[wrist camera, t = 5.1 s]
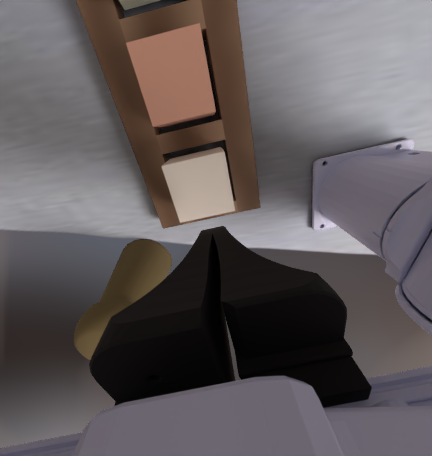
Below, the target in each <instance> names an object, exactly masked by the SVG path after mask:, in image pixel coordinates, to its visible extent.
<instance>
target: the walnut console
mask: <svg viewBox="0 0 432 456" xmlns="http://www.w3.org/2000/svg"><path fill="white" fill-rule="evenodd" d="M76 2H77V5H78V8H79V10H80V13H81V16H82V18H83V21H84V23H85V26H86V29H87V31H88V34H89V36H90V39H91V42H92V44H93V47H94V49H95V52H96V55H97V57H98V60H99V63H100V65H101V68H102V70H103V73H104V76H105V78H106V81H107V83H108V86H109V89H110V91H111V94H112V96H113V99H114V102H115V104H116V107H117V110H118V112H119V115H120V117H121V120H122V123H123V125H124V128H125V130H126V133H127V136H128V138H129V141H130V143H131V146H132V149H133V151H134V154H135V157H136V159H137V162H138V164H139V167H140V170H141V172H142V175H143V177H144V180H145V183H146V185H147V188H148V190H149V193H150V196H151V198H152V201H153V204H154V206H155V209H156V211H157V214H158V217H159V219H160V222H161V224H162V227H163V228H168V227H173V226H177V225H182V224H186V223H191V222H196V221H200V220H205V219H210V218H214V217H219V216H223V215H228V214H233V213H237V212H242V211H247V210H251V209H256V208H260V199H259V191H258V182H257V173H256V164H255V156H254V147H253V138H252V130H251V121H250V112H249V104H248V95H247V86H246V78H245V69H244V60H243V52H242V43H241V34H240V26H239V17H238V8H237V0H188V1H184V2H180V3H177V4H173V5H170V6H166V7H162V8H159V9H155V10H152V11H148V12H144V13H141V14H137V15H134V16H130V17H126V18H125V17H124V14H123V11H122V7H121V4H120V2H119V0H76ZM198 23H200V27H201V33H202V38H203V41H205V40H206V43H207V49H208V55H209V60H210V66H211V72H212V77H213V83H214V88H215V94H216V100H217V105H218V111H219V116H220V120H217V121H213V122H209V123H205V124H201V125H197V126H193V127H189V128H184V129H180V130H176V131H172V132H168V133H164V134H161V133H160V130H159V127H153V126H152V123H151V120H150V116H149V113H148V110H147V107H146V104H145V101H144V98H143V95H142V92H141V89H140V85H139V82H138V79H137V76H136V73H135V70H134V67H133V64H132V61H131V57H130V54H129V51H128V48H127V45H126V43H127V42H131V41H135V40H139V39H142V38H146V37H150V36H153V35H157V34H161V33H164V32H168V31H172V30H176V29H179V28H183V27H187V26H190V25H194V24H198ZM221 140H224V145H225V150H226V156H227V161H228V167H229V173H230V178H231V184H232V190H233V195H232V196H233V201H234V207H235V211H233V212H228V213H223V214H219V215H214V216H210V217H205V218H200V219H196V220H191V221H187V222H182V223H180V221H179V218H178V215H177V212H176V209H175V206H174V203H173V200H172V197H171V194H170V191H169V188H168V185H167V182H166V179H165V176H164V173H163V170H162V167H161V166H162V165H163V164H164V163H166V162H167V161H168V160H169V159H168V156H167V153H170V152H175V151H179V150H183V149H187V148H192V147H196V146H200V145H204V144H208V143H213V142H217V141H221Z"/></svg>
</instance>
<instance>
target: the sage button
mask: <svg viewBox="0 0 432 456" xmlns="http://www.w3.org/2000/svg"><path fill="white" fill-rule="evenodd" d="M157 1H161V0H119V2H120V3H121V5H122V6H123V8H124V9H125V10H128V9H132V8H136V7H139V6H143V5H146V4H150V3H153V2H157Z"/></svg>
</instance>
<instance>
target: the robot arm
mask: <svg viewBox="0 0 432 456" xmlns="http://www.w3.org/2000/svg"><path fill="white" fill-rule="evenodd" d="M397 145H398V147H397V148H396V146H397ZM413 147H414V140H413V139H405V140H400V141H396V142H392V143H387V144H383V145H378V146H374V147H369V148H365V149H361V150H356V151H352V152H347V153H343V154H338V155H334V156H329V157H325V158H321V159H317V160H316V161H314V163H313V195H312V228H313V229H314V230H315V231H318V230H323V229H328V228H333V227H338V226H339V227H340V228H341V229H343V230H344V231H345V232H347V233H348V234H350V235H351V236H352V237H354V238H355V239H356V240H358V241H359V242H361V243H362V244H363V245H365V246H366V247H367V248H369V249H370V250H372V251H373V252H374V253H376V254H377V255H379V256H380V257H382V258H383V259H384V260H386V261H387V267H386V270H385V272H386V273H388V274H389V275H390V276H391V277H393V278H394V279H395V280H396V281H398V282H399V284H398V285H397V288H396V292H395V294H396V298H397V300H398V302H399V304H400V306H401V307H402V308H403V310H404V311H405V312H406V313H407V314H408V315H409V316H410V317H411V318H412V319H413V320H414V321H415V322H416V323H417V324H419V326H420V327H422V328H423V329H424V330H425V331H427V332H428V333H429V334H431V335H432V152H427V151H417V150H413ZM324 161H325V162H326V163H325V165H322V163H323V162H324ZM321 224H323V225H322V226H321V227H320V225H321ZM225 317H226V319H225ZM346 319H347V309H346V306H345V304H344V302H343V301H342V300H341V298H340V297H339V296H338V295H337V293H336V292H335V291H334V290H333V289H332V288H331V287H330V286H329V285H328V283H326V282H325V281H324V280H323V279H322V278H321V277H320V276H319V275H318V274H317V273H313V272H309V271H304V270H300V269H295V268H291V267H288V266H285V265H281V264H279V263H276V262H273V261H271V260H268V259H266V258H264V257H262V256H260V255H258V254H256V253H254V252H252V251H251V250H249V249H248V248H246V247H245V246H244V245H242V244H241V243H240V242H239V241H238V240H236V239H235V238H234V237H233V236H232V235H231V234H230V233H229V232H228V230H227V229H226V227H224V226H221V227H216V228H212V229H207V230H203V231H201V233H200V234H199V236H198V238H197V240H196V241H195V243H194V245H193V246H192V248H191V249H190V251H189V252H188V254H187V255H186V257H185V258H184V259H183V261H182V262H181V263H180V264H179V265H178V266H177V267H176V268H175V270H174V271H173V272H172V273H171V274H170V275H168V276H167V277H166V278H165V279H164V280H163V281H162V282H161V283H160V284H158V285H157V286H156V287H155V288H153V289H152V290H151V291H150V292H148V293H147V294H146V295H144V296H143V297H141V298H140V299H139V300H137V301H136V302H134V303H133V304H131V305H129V306H128V307H126V308H125V309H123V310H122V311H120V312H118V313H117V314H115V315H113V316H112V317H111V318H110V320H109V322H108V324H107V326H106V328H105V330H104V332H103V334H102V336H101V338H100V341H99V343H98V345H97V347H96V349H95V351H94V353H93V355H92V357H91V360H90V364H89V365H90V371H91V374H92V376H93V377H94V378H95V380H96V381H97V382H98V383H99V385H100V386H102V388H103V389H104V390H105V391H106V392H107V393H108V394H109V395H110V396H111V397H112V398H113V399H114V400H115V401H116V402H115V406H113V407H111V408H108V409H105V410H102V411H100V412H99V413H98V414H96V415H95V416H94V417H93V418H92V419H91V420H90V422H89V423H88V425H87V426H86V427H85V428H84V430H83V432H82V433H77V434H71V435H66V436H61V437H55V438H51V439H45V440H40V441H35V442H29V443H24V444H19V445H13V446H9V447H4V448H0V456H432V366H429V367H423V368H418V369H413V370H407V371H402V372H397V373H392V374H386V375H381V376H376V377H371V378H365V376H364V375H363V373H362V372H361V370H360V369H359V367H358V366H357V364H356V363H355V361H354V360H353V358H352V357H351V356H352V354H353V352H352V349H351V348H350V346H349V345H348V343H347V342H346V341H345V339H344V332H345V325H346ZM226 321H227V325H228V328H229V332H230V335H231V339H232V342H233V346H234V349H235V355H236V361H237V368H238V373H239V377H240V378H241V380H238V381H235V376H234V370H233V364H232V357H231V352H230V345H229V338H228V332H227V325H226Z"/></svg>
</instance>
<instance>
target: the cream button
mask: <svg viewBox="0 0 432 456" xmlns="http://www.w3.org/2000/svg"><path fill="white" fill-rule="evenodd" d="M161 167H162V170H163V173H164V176H165V179H166V182H167V185H168V188H169V191H170V194H171V197H172V200H173V203H174V206H175V209H176V212H177V215H178V218H179V221H180V223H182V222H187V221H191V220H196V219H200V218H205V217H210V216H214V215H219V214H223V213H228V212H233V211H235V207H234V201H233V196H232V190H231V185H230V179H229V174H228V168H227V163H226V157H225V152H224V150H223V149H222V148H221V147H217V148H213V149H209V150H205V151H200V152H196V153H192V154H188V155H183V156H179V157H175V158H171V159H169V160H168V161H167V162H166V163H164V164H163V165H162V166H161Z"/></svg>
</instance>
